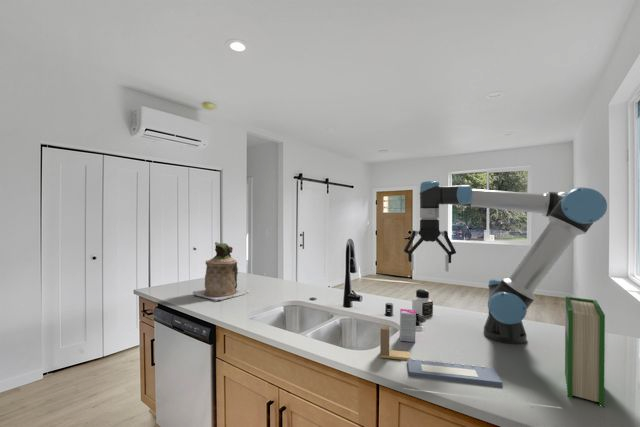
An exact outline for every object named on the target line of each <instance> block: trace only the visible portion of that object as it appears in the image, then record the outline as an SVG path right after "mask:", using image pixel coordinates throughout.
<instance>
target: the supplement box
mask: <svg viewBox="0 0 640 427" xmlns="http://www.w3.org/2000/svg"><path fill="white" fill-rule="evenodd" d="M399 310H400V313H399V314H400V315H399V316H400V317H399V342H401V343H402V342H403V343H411V344H412V343H413V344H416V330H417V329H416V327H417V326H416V324H417V323H416V322H417V315H416V313H415V310H412V309H406V308H405V309H404V308H400V309H399Z"/></svg>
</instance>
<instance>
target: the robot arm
mask: <svg viewBox="0 0 640 427" xmlns="http://www.w3.org/2000/svg"><path fill="white" fill-rule="evenodd" d="M419 203H420V204H419V218H420V220H419V230H411V236H410V238H409V240H408V241H407V243H406V246H405V248H404V249H403V252H404V253H406V254H408V259H407V260H408V262H409V263H410V270H411V271H414V260H415V259H414V254H413V253H414V252H415V250H417V248H418V247H419V246H420V245H421V244H422V243H423V242H433V243H434V242H436V243H437V245H439V247H441V248H442V249H443V250H444V252H445V253H446V254H445V256H444V257H445V258H444V259H445V260H444V262H445V264H444V265H445V267H444V270H445V272H447V273H448V272H449V264H452V255H455V254H457V251H456V248H455V247H454V245H453V243H452V241H451V240H450V238H449V234H448V231H447V230H443V231H441V230H440V220H439V218H440V205H454V206H459V207H460V206H461V207H462V206H463V207H464V206H465V207H473V208H475V207H476V208H485V209H495V210H502V211H504V210H505V211H514V212H525V213H532V214H541V215H542V216H544V217H546V218H547V217H548V221H549V223H548V224H547V226H546V227H545V228H544V229H543V231H542V233H540V235H539V236H538V238H537V239H536V240H535V242H534V243H533V244H532V246H531V247H530V249H529V250H528V252H526V254H525V256H524V257H523V259H522V260H521V261H520V262H519V264H518V265H517V266H516V268H515V270H514V271H513V272H512V274H511V275H510V276H509V277H505V278H504V277H503V278H502V279H495V278H494V279H493V278H492V279H490V280H489V281H488V285H487V286H488V301H487V308H488V315H487V317H486V321H485V322H484V323H485V324H484V326H483V335H484V336H486V337H487V338H488V339H491V340H493V341H497V342H500V343H506V344H514V345H515V344H516V345H517V344H525V343H526V342H527V332H526V330H525V327H524V323H523V320H524V319H525V318H526V315H527V313H528V309H529V307H530V306H531V304H532V303H533V302H534V301H535V299H536V296H535V291H536V290H537V288H538V287H539V286H540V284H541V283H542V282H543V280H544V279H545V278H546V276H547V275H548V274H549V273H550V271H551V270H552V269H553V268H554V266H555V265H556V264H557V262H558V261H559V259H560V258H561V257H562V255H563V254H564V253H565V252H566V250H567V249H568V248H569V247H570V245H571V244H572V242H573V241H574V240H575V238H577V236H581V235H585V234H587V232H588V231H589V230H590V228H591V227H592V225H593V224H594V223H596V222H598V221H599V220H601V219H603V217H604V216H605V214H606V212H607V209H608V202H607V200H606V197H605V196H604V194H602V193H601V192H600V191H598V190H596V189H593V188H589V187H582V186H580V187H575V188H573V189H570V190H566V191H547V192H545V193H538V192H537V193H533V192H522V191H521V192H520V191H508V190H507V191H505V190H494V189H491V190H490V189H478V188H472V186H471V185H470V184H460V185H459V184H458V185H440V182H439V181H435V180H429V181H427V180H426V181H422V182H421V183H420V188H419ZM418 235H419V236H420V238H419V239H418V240H417V241H416V243H414V244H413V246H412V247H411V245H412V243H413V241H414V240H415V237H417V236H418ZM440 235H441V236H442V237H443V238H444V240H445V242H446V244H447V245H448V247H449V248H447V246H446V245H445V244H444V243H443V242H442V241H441V240H440V238H439V237H440ZM410 247H411V248H410ZM449 249H450V250H449Z"/></svg>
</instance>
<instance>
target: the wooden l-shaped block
mask: <svg viewBox="0 0 640 427" xmlns="http://www.w3.org/2000/svg"><path fill="white" fill-rule="evenodd" d="M379 342H380V347H379V348H380V351H379V353H380V354H379V355H380V357H379V358H384V359H393V360H401V361H402V360H403V361H408V359H411V353H410V351H404V350H403V351H402V350H393V349H390V324H387V323H385V324H382V323H381V324H380V341H379Z"/></svg>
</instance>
